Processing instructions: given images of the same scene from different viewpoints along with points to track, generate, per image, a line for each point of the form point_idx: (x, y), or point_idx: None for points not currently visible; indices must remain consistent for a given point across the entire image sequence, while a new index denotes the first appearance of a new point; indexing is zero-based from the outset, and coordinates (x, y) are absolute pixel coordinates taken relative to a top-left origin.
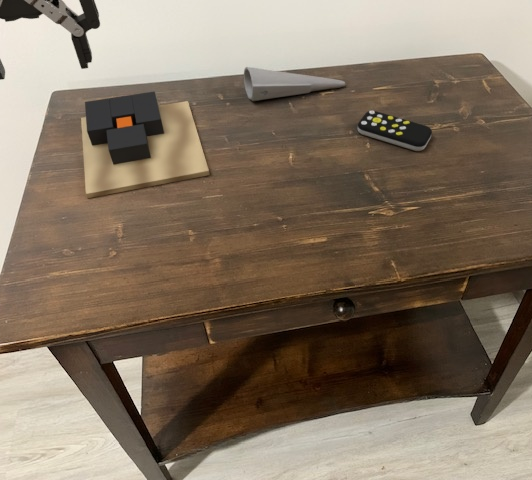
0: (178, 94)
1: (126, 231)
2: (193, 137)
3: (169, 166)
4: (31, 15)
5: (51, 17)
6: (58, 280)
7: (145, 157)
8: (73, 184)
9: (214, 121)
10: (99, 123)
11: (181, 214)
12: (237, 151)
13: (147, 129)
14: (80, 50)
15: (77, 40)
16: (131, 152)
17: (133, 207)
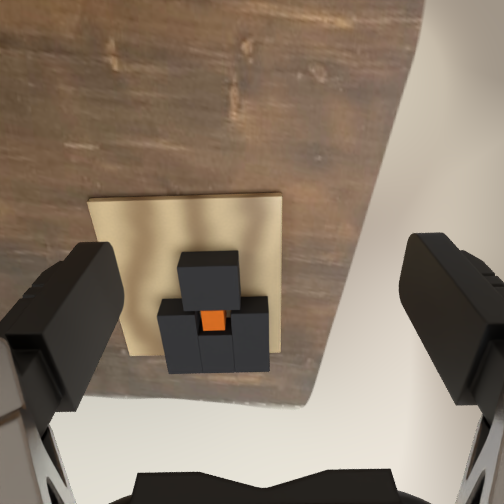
0: (147, 373)
1: (224, 97)
2: None
3: (152, 226)
4: (181, 501)
5: (10, 460)
6: (339, 2)
7: (188, 253)
8: (300, 228)
9: None
10: (249, 325)
11: (132, 115)
12: (49, 241)
13: (182, 305)
14: (50, 287)
15: (21, 323)
16: (205, 259)
17: (212, 153)
